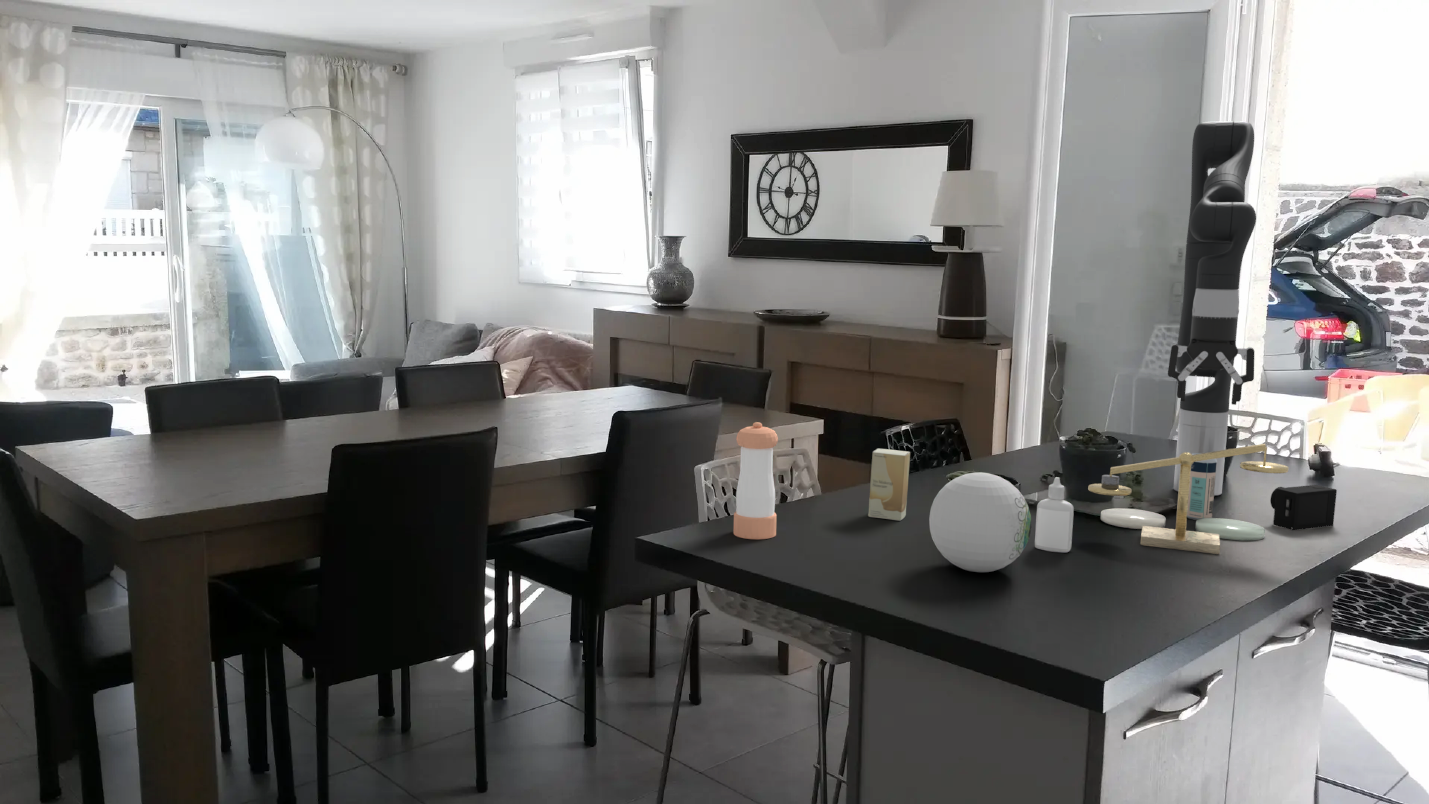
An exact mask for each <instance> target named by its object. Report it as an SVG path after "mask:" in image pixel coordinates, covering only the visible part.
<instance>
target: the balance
mask: <svg viewBox="0 0 1429 804" xmlns="http://www.w3.org/2000/svg"><path fill="white" fill-rule="evenodd" d="M1267 451H1268V447H1267V445H1266V443H1259V444H1254V445H1248V446H1247V445H1245V446H1240V447H1236V448H1235V447H1234V448H1228V449H1227V448H1226V450H1221V451H1214V452H1208V453H1201V454H1195V455H1192V454H1191V453H1189V452H1184V453H1182V454H1180V456H1179V457H1176V456H1175V457H1170V458H1163V459H1157V460H1156V459H1155V460H1151V461H1143V462H1138V463H1137V462H1136V463H1132V464H1130V463H1129V464H1125V465H1117V466H1111V467H1110V471H1109V474H1103V475H1101V483H1092V484H1089V485H1088V488H1087V489H1088V491H1089V492H1091V493H1094V494H1098V495H1104V496H1111V497H1112V496H1113V497H1123V496H1131V495H1132V493H1133V492H1132V491H1133V490H1132V488H1130V487H1128V486H1125V485H1120V476H1118V475H1116V474H1123V473H1128V472H1136V471H1142V470H1143V471H1144V470H1148V469H1150V470H1151V469H1155V468H1156V469H1157V468H1163V467H1170V466H1175V465H1176V464H1181V467H1180V479H1179V492H1178V491H1177V492H1178V494H1177V506H1176V519H1175V529H1174V528H1165V527H1163V528H1158V527H1149V526H1143V528H1142V529H1141V535H1140V544H1139V545H1140V546H1147V547H1156V548H1164V549H1170V550H1171V549H1173V550H1181V551H1188V552H1196V553H1206V554H1214V555H1215V554H1216V555H1220V553H1221V552H1220V549H1221V541H1220V540H1221V538H1219V534H1213V533H1204V532H1198V531H1196V530H1195V531H1194V530H1187V520H1188V517H1187V510H1188V498H1189V485H1190V473H1191V465H1192V464H1193V462H1196V461H1203V460H1209V459H1216V458H1222V457H1225V458H1227V457H1228V458H1229V457H1234V456H1241V455H1247V454H1254V453H1261V452H1263V453H1264V454H1263V460H1262V461H1254V460H1253V461H1251V460H1250V461H1249V460H1248V461H1247V460H1245V461H1241V462H1240V464H1239V468H1240V469H1243V470H1246V471H1250V472H1255V473H1264V474H1286V473H1288V472H1289V470H1290V469H1289V466H1287V465H1284V464H1280V463H1275V462H1269V461H1268V462H1267Z"/></svg>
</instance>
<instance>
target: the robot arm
mask: <svg viewBox="0 0 1429 804" xmlns="http://www.w3.org/2000/svg"><path fill="white" fill-rule="evenodd" d="M1254 129H1255V128H1254V127H1253V125H1252V124H1251V123H1250V122H1248V121H1245V120H1225V121H1224V120H1223V121H1222V120H1221V121H1217V120H1216V121H1203V122H1199V123H1198V124H1197V125H1196V126H1195V129H1194V132H1193V137H1192V150H1191V183H1190V184H1191V189H1190V191H1191V192H1190V205H1189V207H1190V208H1189V215H1188V216H1189V217H1188V218H1189V219H1188V226H1187V233H1186V235H1187V236H1186V244H1185V256H1184V257H1185V259H1184V276H1183V277H1184V281H1183V298H1182V307H1181V308H1182V309H1181V316H1180V322H1179V330H1178V336H1177V337H1178V338H1177V343H1174V344H1172V345H1171V349H1170V354H1169V363H1168V371H1167V376H1168V377H1169V378H1173V379H1174V380H1176V381H1177V389H1176V390H1177V391H1176V396H1177V398H1178V399H1180V401H1179V412H1178V413H1179V415H1178V427H1177V440H1176V450H1175V451H1176V453H1175V457H1179V456H1180V454H1182V453H1184V452H1189V453H1191V454H1192V453H1208V452H1214V451H1221V450H1227V447H1226V446H1227V438H1228V437H1227V436H1228V424H1229V422H1228V421H1229V414H1230V413H1229V411H1230V395H1231V405H1233V406H1236V405H1237V403H1238V402H1240V401H1241V399H1242V387H1243V384H1245V383H1249V382H1253V381H1254V380H1255V348H1254V347H1251V346H1248V347H1247V348H1242V347H1241V348H1238V347H1237V332H1238V331H1237V330H1238V322H1239V321H1238V320H1239V313H1240V309H1239V308H1240V294H1239V293H1240V291H1239V289H1240V278H1241V270H1242V269H1241V268H1242V262H1243V257H1244V255H1245V252H1246V249H1247V246H1248V244H1249V241H1250V239H1251V236H1252V234H1253V232H1254V230H1255V226H1256V222H1257V213H1256V211H1255V209H1254V207H1253V206H1252V205H1251V203H1248V202H1245V201H1246V181H1247V177H1248V174H1249V171H1250V168H1251V164H1252V159H1253V156H1254V147H1255V130H1254ZM1211 169H1213V170H1212V171H1211V172H1210V173H1209V170H1211ZM1238 355H1240V356H1241V359H1242V360H1244V361H1245V374H1243V375H1240V374H1239V373H1238V371H1237V370H1236V369H1235V367H1234V364H1235V358H1236V357H1237V356H1238ZM1188 377H1198V378H1199V377H1201V378H1214V381H1213V382H1212V383H1211V384H1210V385H1208V386H1206V387H1204V388H1201V389H1199V390H1195V391H1191V392H1186V389H1187V380H1186V379H1187V378H1188ZM1232 380H1233V381H1234V382H1233V383H1232ZM1231 383H1232V385H1231ZM1231 386H1232V392H1231ZM1231 393H1232V394H1231ZM1225 458H1226V457H1222V458H1216V460H1217V464H1216V476H1215V487H1214V496H1220V495H1222V494H1223V484H1224V483H1223V482H1224V473H1225V472H1224V470H1225V461H1226V460H1225ZM1174 466H1175V467H1174V478H1173V490H1174V491H1176V492H1179V479H1180V467H1181V464H1176V465H1174Z"/></svg>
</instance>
